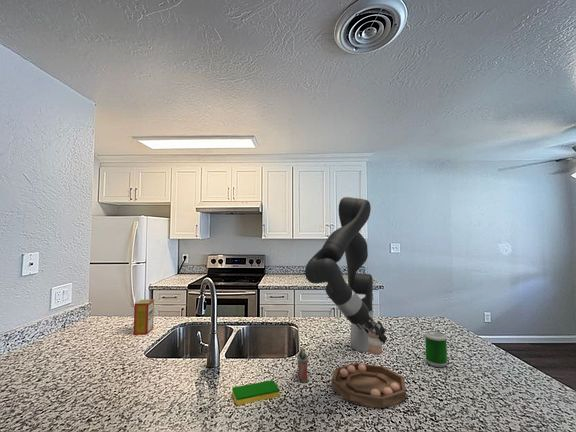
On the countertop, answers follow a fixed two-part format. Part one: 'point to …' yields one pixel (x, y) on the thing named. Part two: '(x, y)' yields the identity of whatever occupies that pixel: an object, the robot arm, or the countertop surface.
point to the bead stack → (374, 342)
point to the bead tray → (369, 386)
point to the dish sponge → (255, 392)
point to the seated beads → (374, 392)
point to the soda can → (436, 348)
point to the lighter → (302, 366)
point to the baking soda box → (143, 317)
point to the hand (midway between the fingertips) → (379, 338)
